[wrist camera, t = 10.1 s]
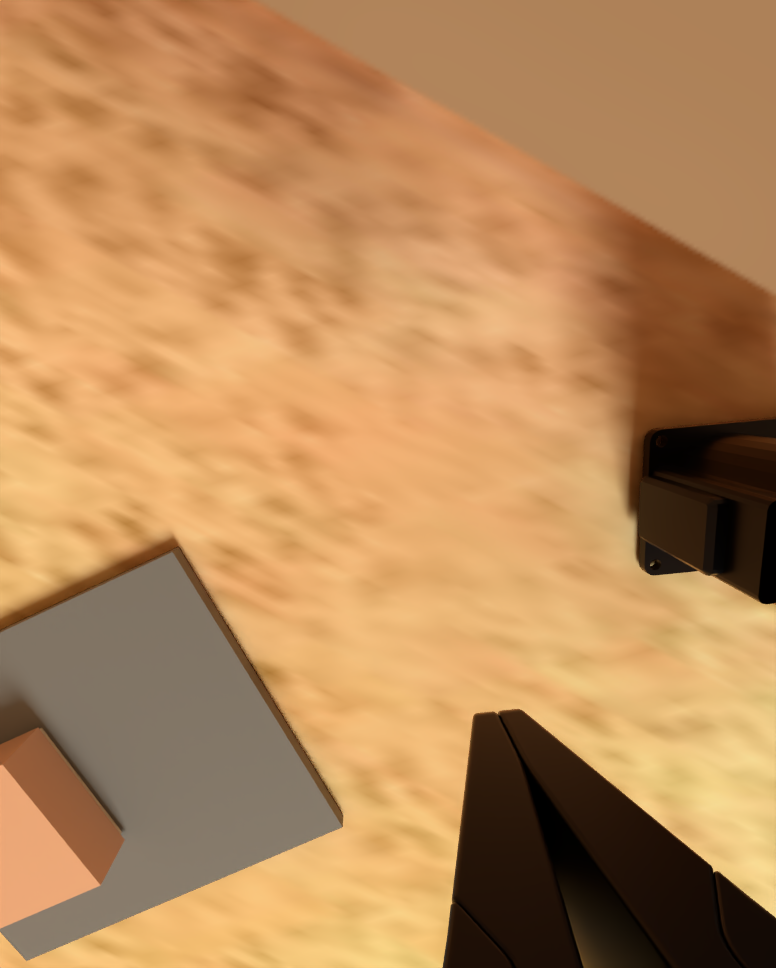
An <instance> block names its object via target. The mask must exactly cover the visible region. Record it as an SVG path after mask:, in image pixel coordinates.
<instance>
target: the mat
mask: <svg viewBox="0 0 776 968" xmlns="http://www.w3.org/2000/svg"><path fill="white" fill-rule="evenodd" d="M36 728H42V729H43V730H44V731H45V732H46V734H47V735H48V736H49V738H50V739H51V740H52V742H53V743H54V744H55V745H56V747H57V748H58V749H59V751H60V752H61V753H62V755H63V756H64V757H65V758H66V760H67V761H68V762H69V764H70V765H71V766H72V768H73V769H74V770H75V771H76V773H77V774H78V775H79V777H80V778H81V779H82V781H83V782H84V783H85V784H86V786H87V787H88V788H89V790H90V791H91V792H92V794H93V795H94V796H95V797H96V799H97V800H98V801H99V803H100V804H101V805H102V807H103V808H104V809H105V810H106V812H107V813H108V814H109V816H110V817H111V818H112V820H113V821H114V822H115V823H116V825H117V826H118V827H119V829H120V830H121V831H122V834H121V835H122V837H123V838H124V839H125V840H124V842H123V844H122V846H121V848H120V850H119V852H118V854H117V856H116V857H115V859H114V861H113V863H112V865H111V867H110V869H109V871H108V873H107V874H106V876H105V878H104V880H103V882H102V884H101V886H98V887H96V888H94V889H91V890H89V891H87V892H84V893H82V894H80V895H77V896H75V897H73V898H70V899H68V900H66V901H63V902H61V903H59V904H56V905H54V906H52V907H49V908H47V909H45V910H42V911H40V912H38V913H35V914H33V915H31V916H28V917H26V918H24V919H21V920H19V921H17V922H14V923H12V924H10V925H7V926H5V927H3V928H0V932H1V933H2V934H3V936H4V937H5V938H6V939H7V940H8V941H9V942H10V943H11V944H12V945H13V946H14V948H15V949H16V950H17V951H18V952H19V953H20V954H21V955H22V956H23V957H24V959H25V960H26V961H27V960H30V959H32V958H34V957H37V956H39V955H42V954H44V953H46V952H49V951H51V950H53V949H56V948H58V947H60V946H63V945H65V944H68V943H70V942H72V941H75V940H77V939H79V938H82V937H84V936H86V935H89V934H91V933H93V932H96V931H98V930H101V929H103V928H105V927H108V926H110V925H112V924H115V923H117V922H119V921H122V920H124V919H127V918H129V917H131V916H134V915H136V914H138V913H141V912H143V911H145V910H148V909H150V908H153V907H155V906H157V905H160V904H162V903H164V902H167V901H169V900H171V899H174V898H176V897H179V896H181V895H183V894H186V893H188V892H190V891H193V890H195V889H197V888H200V887H202V886H204V885H207V884H209V883H212V882H214V881H216V880H219V879H221V878H223V877H226V876H228V875H230V874H233V873H235V872H238V871H240V870H242V869H245V868H247V867H249V866H252V865H254V864H256V863H259V862H261V861H264V860H266V859H268V858H271V857H273V856H275V855H278V854H280V853H282V852H285V851H287V850H290V849H292V848H294V847H297V846H299V845H301V844H304V843H306V842H308V841H311V840H313V839H316V838H318V837H320V836H323V835H325V834H327V833H330V832H332V831H334V830H337V829H339V828H341V827H343V815H342V813H341V811H340V810H339V808H338V807H337V805H336V803H335V802H334V800H333V798H332V797H331V795H330V793H329V792H328V790H327V789H326V787H325V785H324V784H323V782H322V780H321V779H320V777H319V775H318V774H317V772H316V771H315V769H314V767H313V766H312V764H311V762H310V761H309V759H308V758H307V756H306V754H305V753H304V751H303V749H302V748H301V746H300V744H299V743H298V741H297V740H296V738H295V736H294V735H293V733H292V731H291V730H290V728H289V727H288V725H287V723H286V722H285V720H284V718H283V717H282V715H281V713H280V712H279V710H278V709H277V707H276V705H275V704H274V702H273V700H272V699H271V697H270V696H269V694H268V692H267V691H266V689H265V687H264V686H263V684H262V682H261V681H260V679H259V678H258V676H257V674H256V673H255V671H254V669H253V668H252V666H251V665H250V663H249V661H248V660H247V658H246V656H245V655H244V653H243V651H242V650H241V648H240V647H239V645H238V643H237V642H236V640H235V638H234V637H233V635H232V633H231V632H230V630H229V629H228V627H227V625H226V624H225V622H224V620H223V619H222V617H221V616H220V614H219V612H218V611H217V609H216V607H215V606H214V604H213V602H212V601H211V599H210V598H209V596H208V594H207V593H206V591H205V589H204V588H203V586H202V585H201V583H200V581H199V580H198V578H197V576H196V575H195V573H194V571H193V570H192V568H191V567H190V565H189V563H188V562H187V560H186V558H185V557H184V555H183V554H182V552H181V550H180V549H179V547H177V548H175V549H173V550H171V551H169V552H166V553H164V554H162V555H160V556H158V557H156V558H154V559H151V560H149V561H147V562H145V563H143V564H141V565H139V566H136V567H134V568H132V569H130V570H128V571H126V572H124V573H121V574H119V575H117V576H115V577H113V578H111V579H109V580H106V581H104V582H102V583H100V584H98V585H96V586H94V587H92V588H89V589H87V590H85V591H83V592H81V593H79V594H77V595H74V596H72V597H70V598H68V599H66V600H64V601H62V602H59V603H57V604H55V605H53V606H51V607H49V608H47V609H44V610H42V611H40V612H38V613H36V614H34V615H32V616H29V617H27V618H25V619H23V620H21V621H19V622H17V623H15V624H12V625H10V626H8V627H6V628H4V629H2V630H0V744H2V743H5V742H7V741H9V740H11V739H13V738H16V737H18V736H20V735H22V734H25V733H27V732H29V731H31V730H33V729H36Z"/></svg>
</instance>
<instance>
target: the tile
mask: <svg viewBox="0 0 776 968" xmlns="http://www.w3.org/2000/svg"><path fill="white" fill-rule="evenodd" d="M121 834H122V831H121V830H120V829H119V827H118V826H117V825H116V823H115V822H114V821H113V820H112V818H111V817H110V816H109V814H108V813H107V812H106V810H105V809H104V808H103V807H102V805H101V804H100V803H99V801H98V800H97V799H96V797H95V796H94V795H93V794H92V792H91V791H90V790H89V788H88V787H87V786H86V784H85V783H84V782H83V781H82V779H81V778H80V777H79V775H78V774H77V773H76V771H75V770H74V769H73V768H72V766H71V765H70V764H69V762H68V761H67V760H66V758H65V757H64V756H63V755H62V753H61V752H60V751H59V749H58V748H57V747H56V745H55V744H54V743H53V742H52V740H51V739H50V738H49V736H48V735H47V734H46V732H45V731H44V730H43V729H42V728H36V729H33V730H31V731H29V732H27V733H25V734H22V735H20V736H18V737H16V738H13V739H11V740H9V741H7V742H5V743H2V744H0V928H3V927H5V926H7V925H10V924H12V923H14V922H17V921H19V920H21V919H24V918H26V917H28V916H31V915H33V914H35V913H38V912H40V911H42V910H45V909H47V908H49V907H52V906H54V905H56V904H59V903H61V902H63V901H66V900H68V899H70V898H73V897H75V896H77V895H80V894H82V893H84V892H87V891H89V890H91V889H94V888H96V887H98V886H101V884H102V882H103V880H104V878H105V876H106V874H107V873H108V871H109V869H110V867H111V865H112V863H113V861H114V859H115V857H116V856H117V854H118V852H119V850H120V848H121V846H122V844H123V842H124V840H125V839H124V838H123V837H122V835H121Z"/></svg>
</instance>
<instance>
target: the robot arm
mask: <svg viewBox="0 0 776 968" xmlns="http://www.w3.org/2000/svg"><path fill="white" fill-rule="evenodd" d="M659 436H661V439H662V440H661V443H660V444H659V445H656V439H657V438H658V437H659ZM638 535H639V536H640V553H639V565H640V567H641V569H642V570H644V571H645V572H647V573H648V574H650V575H663V574H673V573H683V572H693V571H700V572H701V573H703V574H705V575H708V576H710V575H712V576H714V577H715V578H717V579H719V580H721V581H723V582H724V583H726V584H728V585H730V586H732V587H733V588H735V589H737V590H739V591H741V592H742V593H744V594H746V595H748V596H750V597H751V598H753V599H755V600H757V601H759V602H760V603H763V604H772V603H773V604H775V605H776V417H775V418H764V419H753V420H742V421H731V422H720V423H709V424H698V425H688V426H677V427H666V428H656V429H652V430H651V431H649V432H648V433H647V435H646V436H645V439H644V456H643V479H642V480H641V482H640V497H639V522H638ZM653 560H656V561H655V564H654V565H653V566H650V563H651V562H652V561H653ZM443 968H776V918H775V917H774V916H773V915H772V914H770V913H769V912H768V911H767V910H765V909H764V908H763V907H762V906H760V905H759V904H758V903H756V902H755V901H754V900H753V899H751V898H750V897H749V896H748V895H746V894H745V893H744V892H743V891H742V890H740V889H739V888H738V887H737V886H736V885H734V884H733V883H732V882H731V881H729V880H728V879H727V878H726V877H725V876H723V875H722V874H721V873H720V872H718V871H715V872H714V874H713V868H712V866H711V865H710V864H708V863H707V862H706V861H705V860H704V859H702V858H701V857H700V856H699V855H698V854H696V853H695V852H694V851H693V850H691V849H690V848H689V847H688V846H687V845H685V844H684V843H683V842H682V841H681V840H679V839H678V838H677V837H676V836H674V835H673V834H672V833H671V832H670V831H668V830H667V829H666V828H665V827H664V826H662V825H661V824H660V823H659V822H657V821H656V820H655V819H654V818H653V817H651V816H650V815H649V814H648V813H647V812H645V811H644V810H643V809H642V808H640V807H639V806H638V805H637V804H636V803H634V802H633V801H632V800H631V799H630V798H628V797H627V796H626V795H625V794H623V793H622V792H621V791H620V790H619V789H617V788H616V787H615V786H614V785H612V784H611V783H610V782H609V781H608V780H606V779H605V778H604V777H603V776H602V775H600V774H599V773H598V772H597V771H595V770H594V769H593V768H592V767H591V766H589V765H588V764H587V763H586V762H585V761H583V760H582V759H581V758H580V757H578V756H577V755H576V754H575V753H574V752H572V751H571V750H570V749H569V748H568V747H566V746H565V745H564V744H563V743H561V742H560V741H559V740H558V739H557V738H555V737H554V736H553V735H552V734H551V733H549V732H548V731H547V730H546V729H544V728H543V727H542V726H541V725H540V724H538V723H537V722H536V721H535V720H534V719H532V718H531V717H530V716H529V715H527V714H526V713H525V712H524V711H522V710H520V709H512V710H503V711H500V712H499V713H498V714H497V713H495V712H485V713H476V714H475V715H474V716H473V722H472V731H471V740H470V748H469V757H468V765H467V774H466V783H465V791H464V800H463V809H462V817H461V826H460V834H459V843H458V852H457V860H456V869H455V878H454V886H453V895H452V905H451V909H450V918H449V926H448V935H447V942H446V949H445V956H444V962H443Z"/></svg>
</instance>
